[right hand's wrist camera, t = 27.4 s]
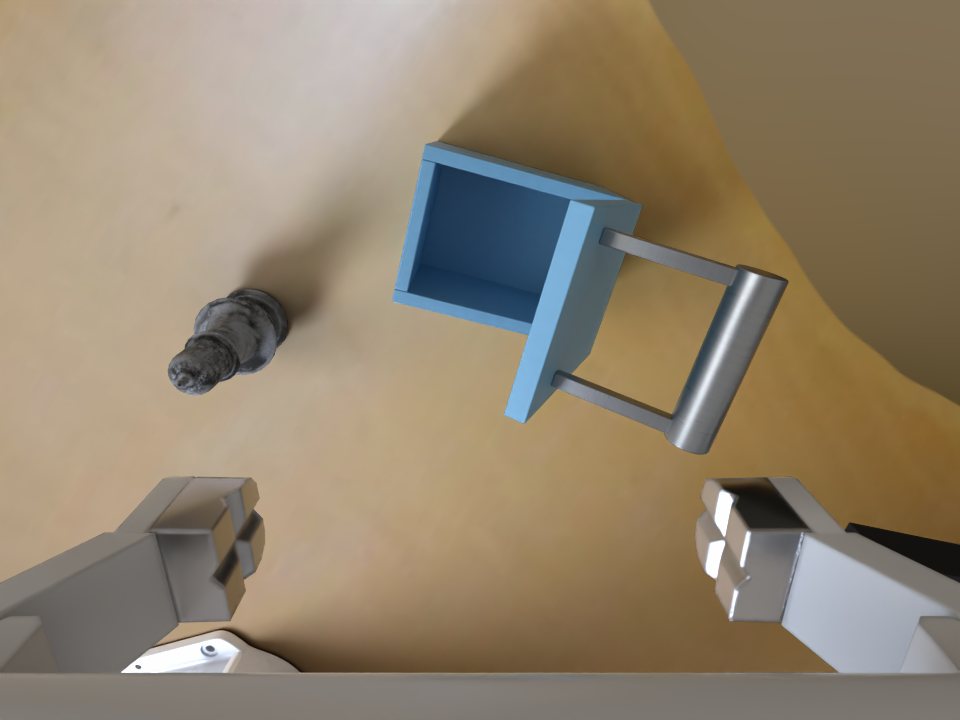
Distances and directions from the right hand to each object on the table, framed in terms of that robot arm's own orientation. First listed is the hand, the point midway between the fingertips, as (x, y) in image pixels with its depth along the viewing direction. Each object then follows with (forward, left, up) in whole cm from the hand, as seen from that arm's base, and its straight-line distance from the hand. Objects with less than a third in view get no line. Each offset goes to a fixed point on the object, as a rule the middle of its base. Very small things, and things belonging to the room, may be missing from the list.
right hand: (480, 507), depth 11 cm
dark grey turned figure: (-18, -5, -34) cm, 39 cm away
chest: (+2, -1, -34) cm, 34 cm away
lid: (+4, -2, -19) cm, 20 cm away
